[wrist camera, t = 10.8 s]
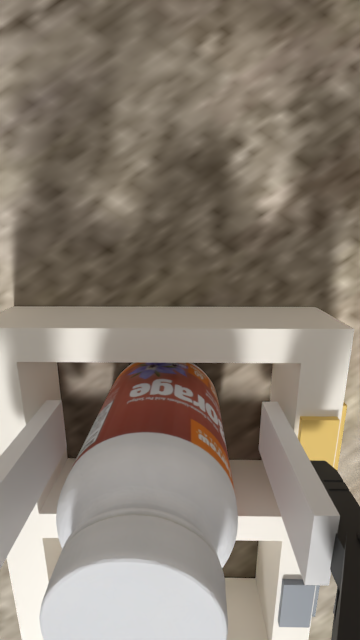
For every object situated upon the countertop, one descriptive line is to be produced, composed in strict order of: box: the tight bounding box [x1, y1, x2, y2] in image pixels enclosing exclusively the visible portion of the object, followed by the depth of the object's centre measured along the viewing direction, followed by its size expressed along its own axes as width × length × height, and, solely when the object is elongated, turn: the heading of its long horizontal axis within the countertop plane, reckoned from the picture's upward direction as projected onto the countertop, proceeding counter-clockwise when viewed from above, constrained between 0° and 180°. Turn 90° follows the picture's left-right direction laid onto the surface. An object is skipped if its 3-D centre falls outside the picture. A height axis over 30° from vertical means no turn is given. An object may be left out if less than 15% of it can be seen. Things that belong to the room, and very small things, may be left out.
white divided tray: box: [0, 306, 354, 640], centre depth 18 cm, size 16×20×4 cm
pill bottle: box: [39, 362, 238, 640], centre depth 13 cm, size 6×6×11 cm
